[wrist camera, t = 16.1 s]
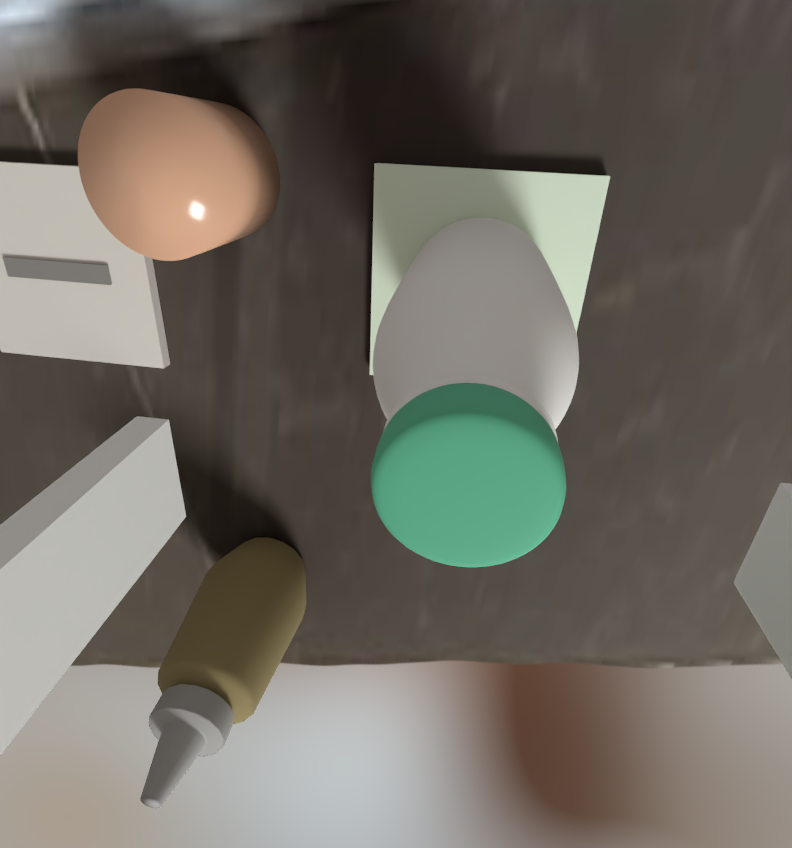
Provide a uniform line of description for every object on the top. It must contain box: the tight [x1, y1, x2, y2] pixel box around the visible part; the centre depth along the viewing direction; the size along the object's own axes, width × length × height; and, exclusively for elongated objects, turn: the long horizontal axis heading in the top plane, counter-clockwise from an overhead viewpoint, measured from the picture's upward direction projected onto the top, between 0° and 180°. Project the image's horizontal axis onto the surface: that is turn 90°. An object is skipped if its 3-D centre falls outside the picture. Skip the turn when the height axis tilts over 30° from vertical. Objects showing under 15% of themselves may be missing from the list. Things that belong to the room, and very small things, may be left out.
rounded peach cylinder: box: [78, 88, 280, 261], centre depth 26 cm, size 7×7×7 cm
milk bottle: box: [371, 218, 579, 567], centre depth 21 cm, size 8×8×20 cm
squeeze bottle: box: [141, 537, 306, 808], centre depth 35 cm, size 8×8×18 cm
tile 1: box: [0, 161, 170, 368], centre depth 33 cm, size 12×12×1 cm
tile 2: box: [370, 163, 610, 375], centre depth 30 cm, size 12×12×1 cm
